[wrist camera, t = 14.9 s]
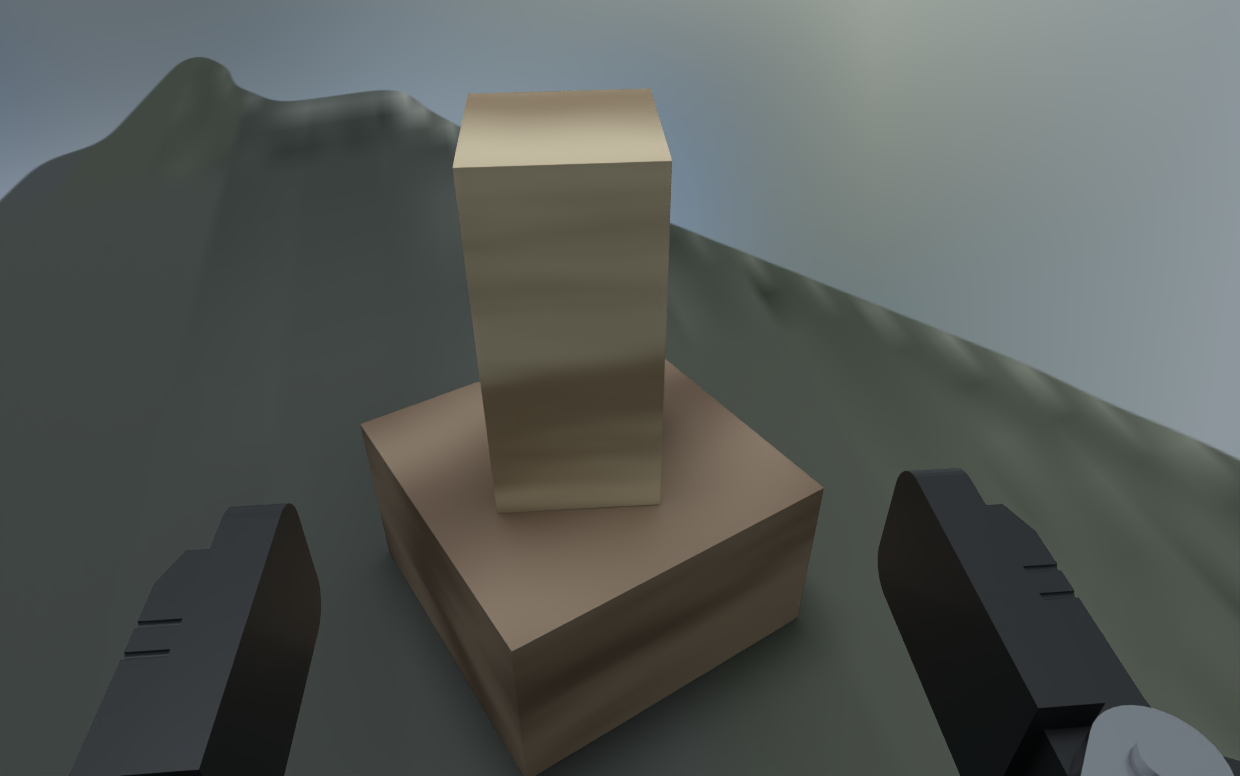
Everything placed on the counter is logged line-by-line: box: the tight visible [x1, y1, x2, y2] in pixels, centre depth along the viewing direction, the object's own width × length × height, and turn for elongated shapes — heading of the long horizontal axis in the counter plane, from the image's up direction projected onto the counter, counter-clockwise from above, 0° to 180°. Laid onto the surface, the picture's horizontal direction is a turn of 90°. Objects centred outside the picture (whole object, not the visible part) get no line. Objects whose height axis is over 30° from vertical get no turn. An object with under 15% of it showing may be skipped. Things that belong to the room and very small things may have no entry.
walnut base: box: [360, 359, 824, 776], centre depth 27 cm, size 10×10×6 cm
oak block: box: [453, 89, 672, 513], centre depth 22 cm, size 4×4×10 cm
